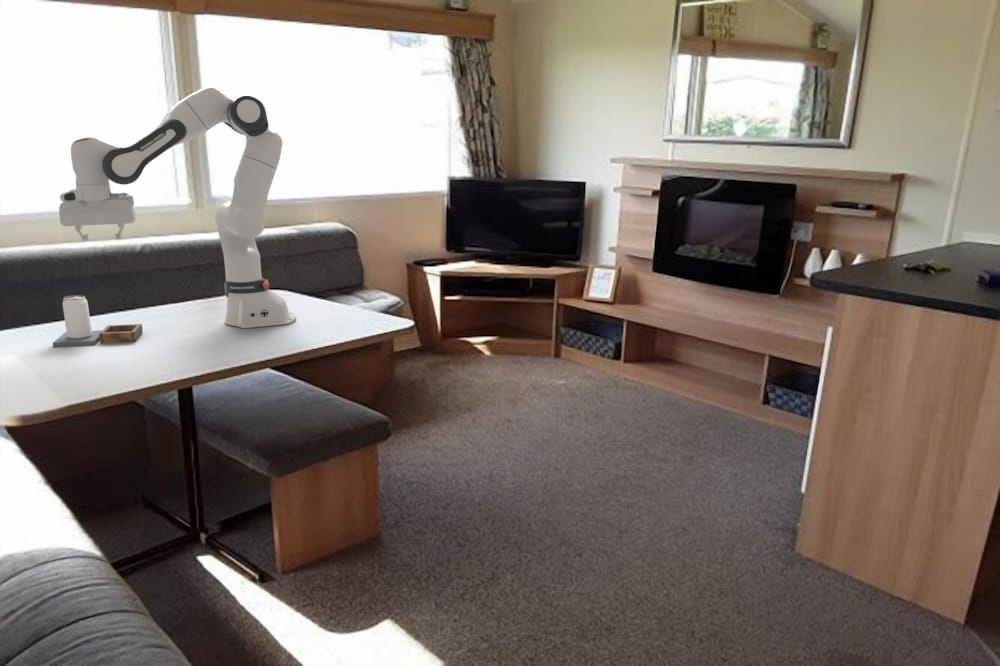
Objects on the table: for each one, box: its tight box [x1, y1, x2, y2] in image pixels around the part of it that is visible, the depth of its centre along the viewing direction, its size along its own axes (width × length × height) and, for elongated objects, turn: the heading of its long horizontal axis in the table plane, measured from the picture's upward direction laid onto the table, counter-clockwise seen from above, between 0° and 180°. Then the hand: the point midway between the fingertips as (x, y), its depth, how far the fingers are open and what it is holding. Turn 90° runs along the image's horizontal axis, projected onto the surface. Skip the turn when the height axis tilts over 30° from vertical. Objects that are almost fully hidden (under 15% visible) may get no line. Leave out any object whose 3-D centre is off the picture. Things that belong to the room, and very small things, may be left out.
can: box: [62, 294, 93, 339], centre depth 218 cm, size 6×6×12 cm
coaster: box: [52, 329, 103, 348], centre depth 220 cm, size 11×12×1 cm
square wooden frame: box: [99, 323, 144, 344], centre depth 222 cm, size 10×10×3 cm
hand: (102, 239), depth 223 cm, fingers open, 8 cm apart
